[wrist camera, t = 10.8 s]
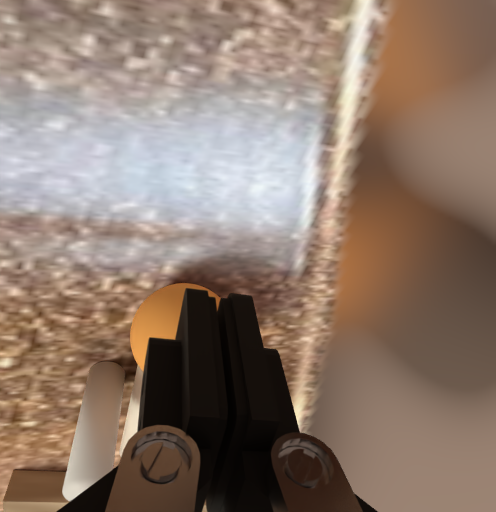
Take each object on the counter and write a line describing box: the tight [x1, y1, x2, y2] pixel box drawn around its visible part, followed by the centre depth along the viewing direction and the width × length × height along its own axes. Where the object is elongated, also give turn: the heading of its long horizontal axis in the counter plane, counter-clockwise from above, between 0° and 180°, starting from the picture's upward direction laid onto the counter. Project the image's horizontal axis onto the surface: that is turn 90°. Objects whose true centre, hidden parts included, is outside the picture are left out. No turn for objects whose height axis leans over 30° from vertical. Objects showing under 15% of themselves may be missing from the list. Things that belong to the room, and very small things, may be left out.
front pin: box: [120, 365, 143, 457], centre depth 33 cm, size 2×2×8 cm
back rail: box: [3, 470, 207, 512], centre depth 37 cm, size 2×18×2 cm, turn 77°
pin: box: [62, 361, 125, 501], centre depth 29 cm, size 2×2×8 cm
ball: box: [130, 283, 221, 371], centre depth 27 cm, size 6×6×6 cm
